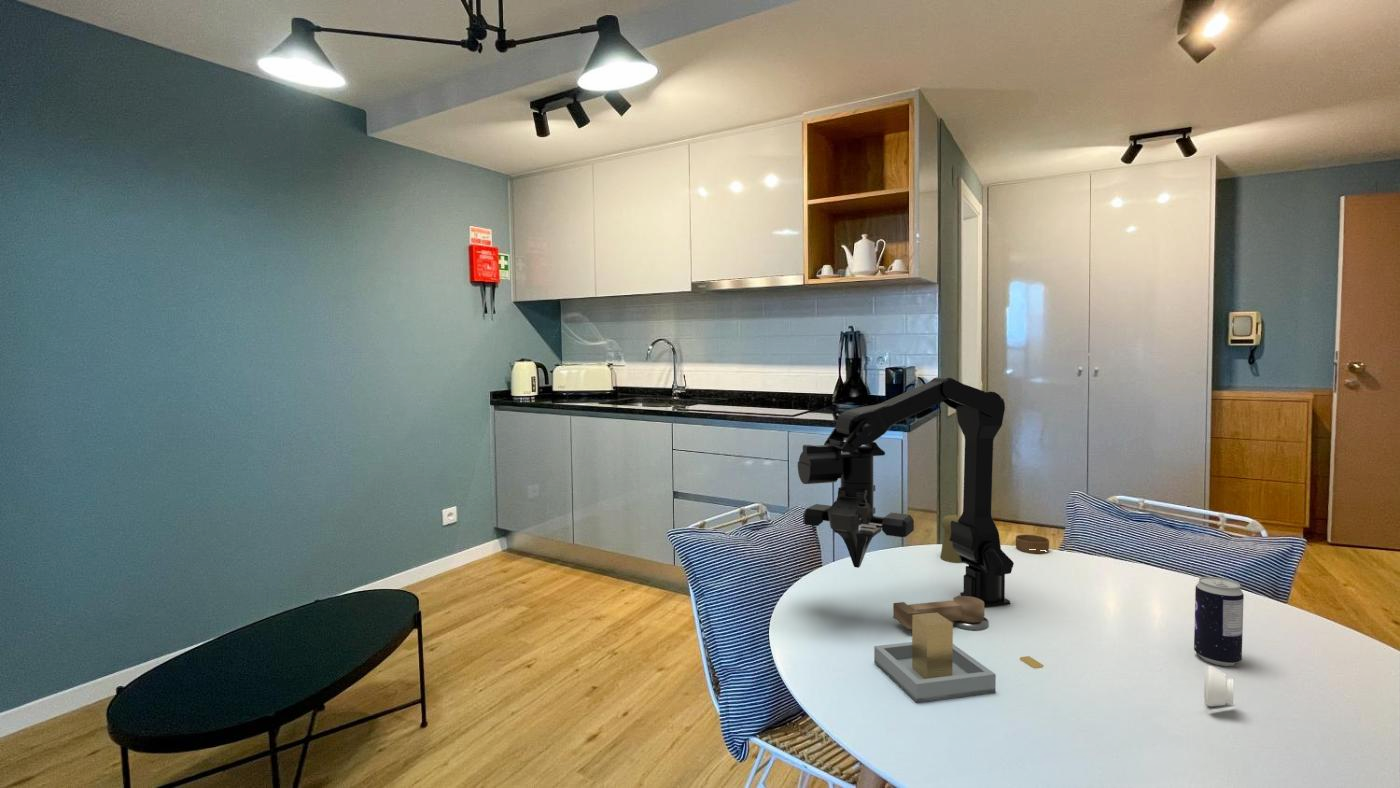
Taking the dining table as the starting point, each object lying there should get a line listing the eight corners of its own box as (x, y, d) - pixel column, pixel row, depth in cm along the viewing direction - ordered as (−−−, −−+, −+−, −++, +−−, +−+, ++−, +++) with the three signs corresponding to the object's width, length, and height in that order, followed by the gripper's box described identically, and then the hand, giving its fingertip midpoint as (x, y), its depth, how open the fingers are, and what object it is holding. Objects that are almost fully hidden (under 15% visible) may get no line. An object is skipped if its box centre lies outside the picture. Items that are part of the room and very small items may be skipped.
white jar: (1204, 695, 88) (1205, 659, 88) (1232, 702, 86) (1233, 665, 86) (1203, 710, 84) (1204, 673, 84) (1232, 718, 82) (1233, 680, 82)
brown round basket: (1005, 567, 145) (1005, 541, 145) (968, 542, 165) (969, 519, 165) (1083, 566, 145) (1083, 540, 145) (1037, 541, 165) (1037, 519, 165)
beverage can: (1231, 654, 100) (1233, 577, 99) (1248, 670, 95) (1251, 590, 94) (1187, 649, 102) (1189, 574, 101) (1202, 665, 97) (1204, 586, 96)
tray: (945, 654, 101) (945, 638, 101) (995, 692, 89) (995, 674, 89) (874, 662, 98) (874, 646, 98) (916, 703, 87) (916, 684, 87)
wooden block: (936, 665, 96) (937, 612, 96) (952, 678, 92) (952, 623, 92) (912, 668, 95) (912, 614, 95) (926, 681, 91) (927, 625, 91)
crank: (972, 610, 116) (972, 594, 116) (990, 621, 111) (990, 605, 111) (893, 618, 113) (893, 602, 113) (908, 629, 108) (908, 613, 108)
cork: (963, 560, 148) (963, 513, 148) (971, 568, 142) (972, 519, 142) (936, 559, 149) (936, 512, 149) (943, 568, 143) (944, 519, 143)
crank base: (973, 614, 117) (973, 610, 117) (1057, 665, 97) (1057, 660, 97) (941, 617, 115) (941, 613, 115) (1019, 669, 96) (1019, 665, 96)
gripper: (790, 483, 114) (790, 570, 115) (896, 494, 104) (896, 589, 104) (814, 474, 123) (815, 554, 124) (914, 482, 113) (914, 570, 114)
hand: (857, 566), depth 116 cm, fingers closed
